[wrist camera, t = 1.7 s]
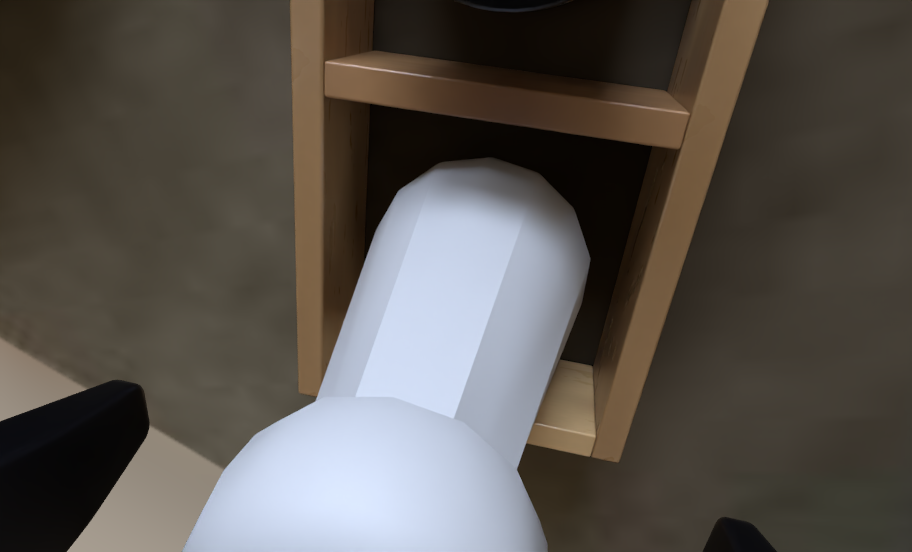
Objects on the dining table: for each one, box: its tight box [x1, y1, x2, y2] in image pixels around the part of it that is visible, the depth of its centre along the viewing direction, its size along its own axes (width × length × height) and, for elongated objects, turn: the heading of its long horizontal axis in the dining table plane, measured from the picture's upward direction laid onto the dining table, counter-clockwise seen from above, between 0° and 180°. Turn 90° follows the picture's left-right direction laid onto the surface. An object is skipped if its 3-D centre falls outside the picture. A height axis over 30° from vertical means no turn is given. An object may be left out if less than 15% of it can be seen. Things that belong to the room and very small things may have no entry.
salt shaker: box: [182, 157, 590, 552], centre depth 11 cm, size 6×6×13 cm
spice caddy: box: [290, 0, 769, 463], centre depth 14 cm, size 10×18×4 cm, turn 174°
